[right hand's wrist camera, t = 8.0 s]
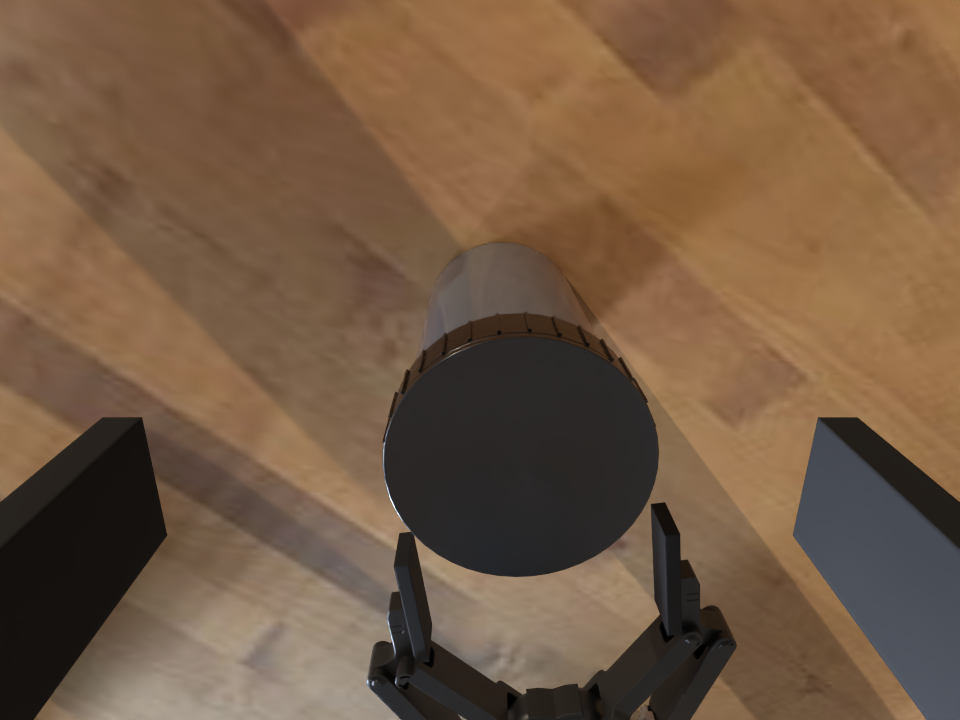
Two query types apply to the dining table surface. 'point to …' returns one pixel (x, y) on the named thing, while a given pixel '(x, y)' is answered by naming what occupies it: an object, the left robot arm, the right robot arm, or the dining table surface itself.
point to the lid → (519, 446)
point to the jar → (498, 290)
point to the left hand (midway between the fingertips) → (533, 532)
